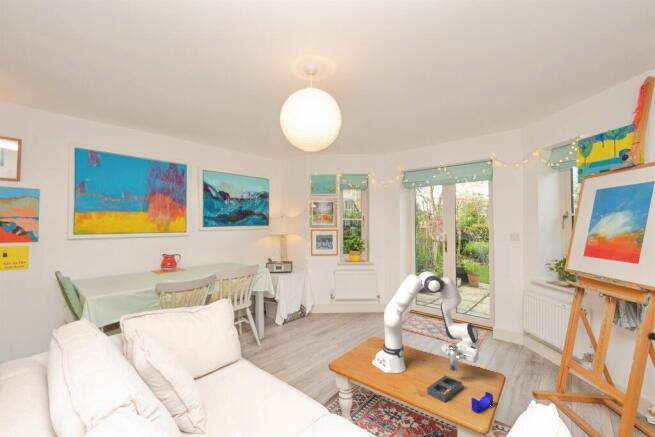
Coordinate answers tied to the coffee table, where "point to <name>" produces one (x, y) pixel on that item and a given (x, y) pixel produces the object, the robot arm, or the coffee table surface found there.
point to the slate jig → (444, 388)
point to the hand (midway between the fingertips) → (452, 356)
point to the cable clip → (482, 403)
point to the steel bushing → (453, 357)
